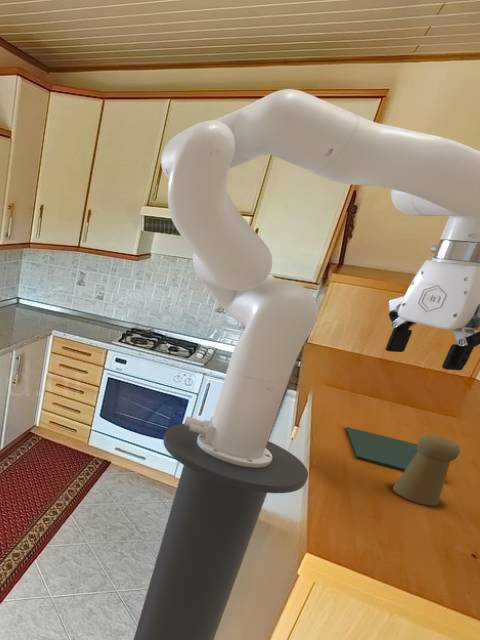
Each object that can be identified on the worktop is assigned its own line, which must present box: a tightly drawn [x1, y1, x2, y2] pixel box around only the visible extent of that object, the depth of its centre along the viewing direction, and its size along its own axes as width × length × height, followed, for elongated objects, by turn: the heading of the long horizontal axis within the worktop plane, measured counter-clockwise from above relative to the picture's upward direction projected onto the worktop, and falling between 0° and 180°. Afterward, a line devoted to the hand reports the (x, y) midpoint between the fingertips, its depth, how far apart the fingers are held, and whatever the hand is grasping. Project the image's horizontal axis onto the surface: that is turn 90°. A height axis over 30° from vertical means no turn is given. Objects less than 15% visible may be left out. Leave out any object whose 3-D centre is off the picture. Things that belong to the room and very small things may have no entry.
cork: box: [392, 434, 461, 507], centre depth 82 cm, size 6×6×11 cm
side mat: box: [345, 426, 418, 472], centre depth 101 cm, size 13×18×1 cm
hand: (421, 359), depth 81 cm, fingers open, 9 cm apart
